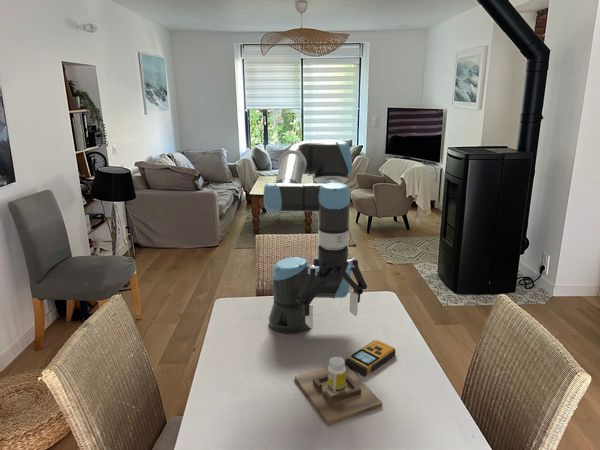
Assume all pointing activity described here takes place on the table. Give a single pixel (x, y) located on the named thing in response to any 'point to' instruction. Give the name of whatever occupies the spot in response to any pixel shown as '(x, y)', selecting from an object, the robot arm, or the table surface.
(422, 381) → the table surface
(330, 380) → the supplement bottle
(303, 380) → the board
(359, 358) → the electronic device
